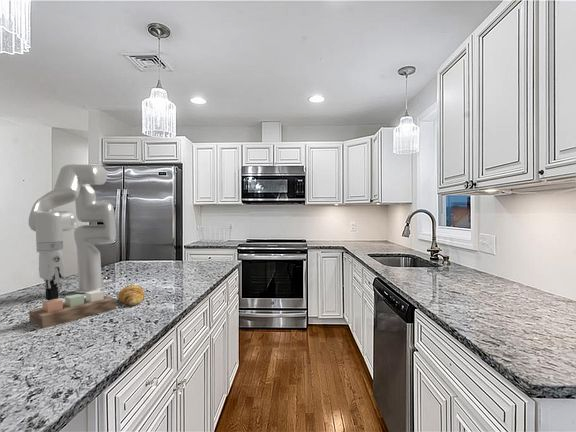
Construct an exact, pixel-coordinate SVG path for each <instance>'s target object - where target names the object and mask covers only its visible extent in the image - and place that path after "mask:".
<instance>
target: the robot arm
mask: <svg viewBox="0 0 576 432" xmlns="http://www.w3.org/2000/svg"><path fill="white" fill-rule="evenodd" d="M107 179H108V174H107V170H106V168H104V166H102V165H95V164H75V163H74V164H66V165H62V167H61V168H60V170H59V173H58V175H57V178H56V182H55V184H54V189H52V190H50V191H49V192H47V193H44V195H42V196H41V197H40V198H38V199H37V200H36V201H35V202H34V204H33V206H32V207H31V210H30V213H29V215H28V216H29V217H28V221H27V222H28V226H29V228H30V230H32V231H33V232H35V241H36V242H35V243H36V244H35V245H36V246H35V247H36V253H38V275H39V278H40V279H42V280H43V282H44V289H45V301H48V300H53V299H59V284H60V283H61V280H60V279H62V280H63V279H65V278H66V267H65V266H66V265H65V259H64V253H63V251H64V239H63V238H64V237H63V232H68V231H71V230H73V229H74V228H75V229H74V232H73V238H74V241H75V247H76V255H77V258H76V259H77V277H78V278H77V281H78V287H77V288H75V289H74V293H75V294H86V293H85V292H90V291H95V290H100V291H103V290H105V289H106V284H111V283H113V280H112V278H110V279H103V278H102V262H101V261H102V260H101V251H100V250H99V249H98V248H97V247H96V245H109V244H113V243H114V242H115V241H116V239H117V229H116V215H115V208H114V205H113V204H112V203H110V202H108V201H107V202H106V201H102V202H101V201H100V202H99V201H97V198H96V191H95V189H94V188H93V186H92V185H96V186H98V185H100V186H101V185H104V184H105V183H106V181H107ZM73 202H74V204H75V213H76V215H75V214H74V213H73V212H71V211H68V210H57V211H56V210H53V209H55V208H57V207H61V206H64V205H66V204H67V205H68V204H70V203H73ZM52 210H53V211H52ZM77 220H78V221H79V222H81V223H103V224H84V225H83V224H81V225H79V226H77V227H76V225H77V222H78V221H77Z"/></svg>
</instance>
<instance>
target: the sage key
mask: <svg viewBox="0 0 576 432" xmlns="http://www.w3.org/2000/svg"><path fill="white" fill-rule="evenodd" d="M84 298H85V295H83V294H81V293H75V294H71V295H67V296H64V303H65V306H67V307H74V306H78V305H82V304H84Z"/></svg>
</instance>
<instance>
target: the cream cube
mask: <svg viewBox="0 0 576 432" xmlns="http://www.w3.org/2000/svg"><path fill="white" fill-rule="evenodd" d="M84 294H85V298H86V301H88V302H95V301H99V300H103V299H104V296H105V295H104V291H103V290H101V291H100V290H95V291H90V292H85V293H84Z"/></svg>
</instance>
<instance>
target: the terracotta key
mask: <svg viewBox="0 0 576 432" xmlns="http://www.w3.org/2000/svg"><path fill="white" fill-rule="evenodd" d="M63 303H64V302H63V300H62V299H60V298H58V299H53V300H44V301H42V305H41V306H42V308H43V312H46V313H48V312H53V311H57V310H61V309H63Z"/></svg>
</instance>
